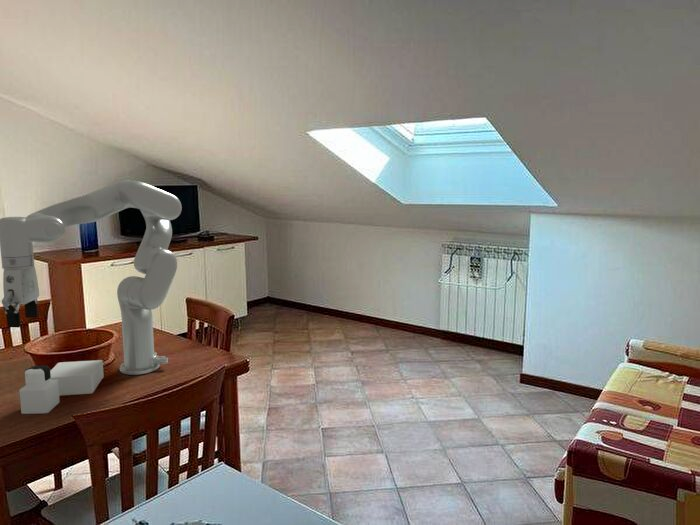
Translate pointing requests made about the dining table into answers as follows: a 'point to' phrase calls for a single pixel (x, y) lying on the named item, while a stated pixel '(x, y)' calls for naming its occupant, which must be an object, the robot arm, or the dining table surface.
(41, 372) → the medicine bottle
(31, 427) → the dining table surface
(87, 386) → the grey block
